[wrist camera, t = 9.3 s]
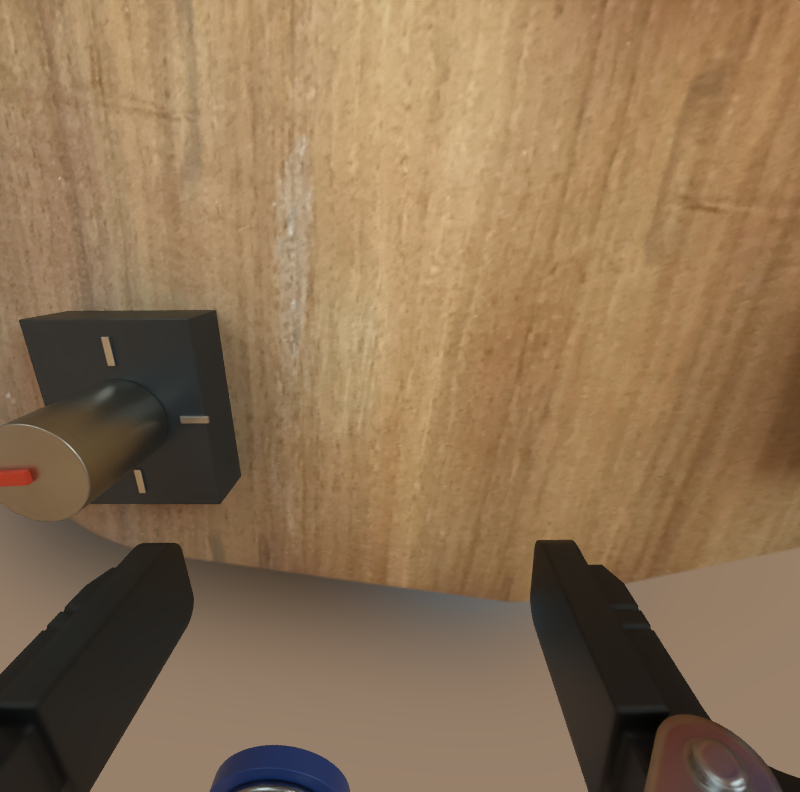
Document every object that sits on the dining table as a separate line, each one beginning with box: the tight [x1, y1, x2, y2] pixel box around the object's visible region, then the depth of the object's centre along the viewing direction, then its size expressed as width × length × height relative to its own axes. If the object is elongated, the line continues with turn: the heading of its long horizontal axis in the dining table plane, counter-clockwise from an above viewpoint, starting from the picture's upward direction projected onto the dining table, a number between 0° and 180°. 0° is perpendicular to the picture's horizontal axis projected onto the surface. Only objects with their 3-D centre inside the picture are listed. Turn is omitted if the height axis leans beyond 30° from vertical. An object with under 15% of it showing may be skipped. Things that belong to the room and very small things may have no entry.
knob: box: [0, 380, 168, 521], centre depth 18 cm, size 4×4×6 cm
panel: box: [19, 310, 241, 504], centre depth 22 cm, size 10×8×3 cm
